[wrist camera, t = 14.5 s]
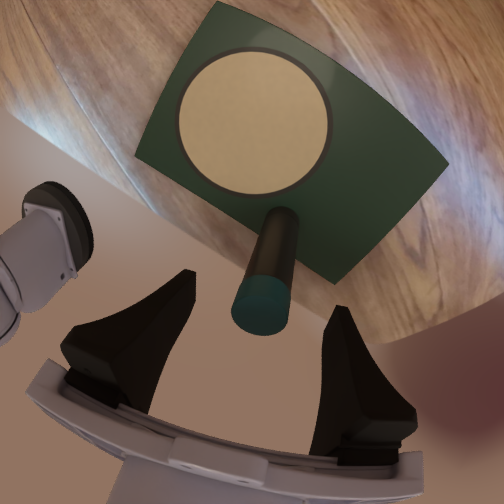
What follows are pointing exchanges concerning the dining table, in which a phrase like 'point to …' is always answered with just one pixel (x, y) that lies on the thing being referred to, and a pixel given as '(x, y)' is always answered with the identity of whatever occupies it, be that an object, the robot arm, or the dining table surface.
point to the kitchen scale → (287, 140)
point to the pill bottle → (269, 276)
